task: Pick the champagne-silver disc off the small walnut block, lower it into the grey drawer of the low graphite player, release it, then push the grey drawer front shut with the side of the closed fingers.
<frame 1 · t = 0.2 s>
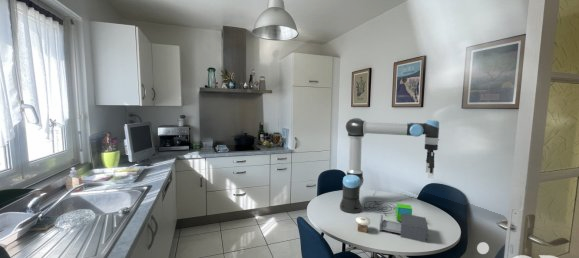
hand: (429, 175, 157), 28 cm above the table, fingers open, 13 cm apart
disc: (362, 222, 138), point 5 cm above the table, touching walnut block
walnut block: (362, 230, 139), on the table
grey drawer: (391, 225, 140), point 3 cm above the table, slide at 10.0 cm
green and teal box: (402, 218, 154), on the table
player: (412, 233, 135), on the table
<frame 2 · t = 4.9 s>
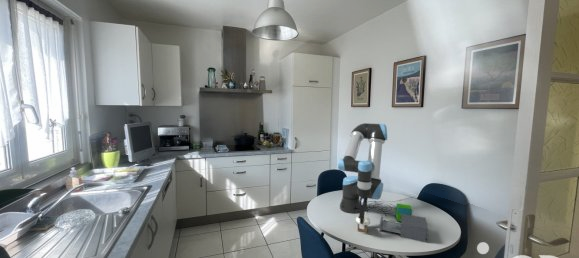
hand: (362, 225, 139), 3 cm above the table, fingers closed on disc, 8 cm apart
disc: (362, 222, 138), point 5 cm above the table, touching gripper, walnut block
everything else where it was.
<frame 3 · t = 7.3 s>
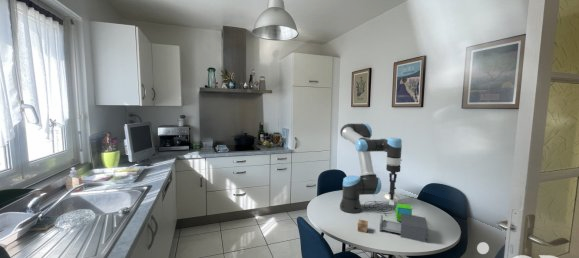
hand: (391, 202, 139), 17 cm above the table, fingers closed on disc, 8 cm apart
disc: (391, 198, 138), point 19 cm above the table, touching gripper
everything else where it was.
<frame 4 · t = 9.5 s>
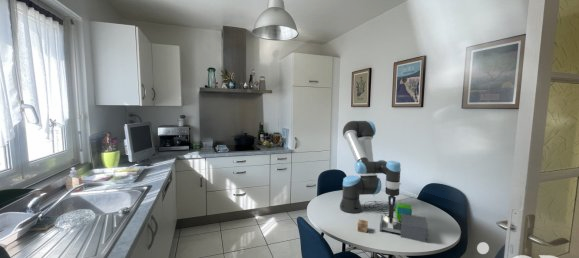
hand: (390, 224, 140), 3 cm above the table, fingers closed on disc, 8 cm apart
disc: (390, 221, 140), point 5 cm above the table, touching gripper
grey drawer: (391, 225, 140), point 3 cm above the table, slide at 10.0 cm, touching gripper
everything else where it was.
when the fingers open (3 cm above the table, at t = 9.8 s): disc drops 3 cm, resting on grey drawer.
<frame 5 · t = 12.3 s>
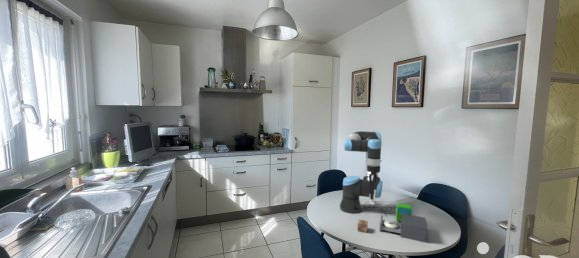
hand: (372, 201, 144), 15 cm above the table, fingers open, 6 cm apart
disc: (390, 225, 140), point 2 cm above the table, touching grey drawer
grey drawer: (391, 225, 140), point 3 cm above the table, slide at 10.0 cm, touching disc
everything else where it was.
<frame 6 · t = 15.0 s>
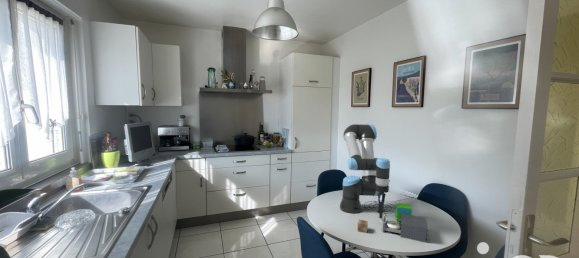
hand: (380, 222, 142), 3 cm above the table, fingers closed
disc: (393, 226, 139), point 2 cm above the table, touching grey drawer
grey drawer: (394, 225, 139), point 3 cm above the table, slide at 8.3 cm, touching disc, gripper
everything else where it was.
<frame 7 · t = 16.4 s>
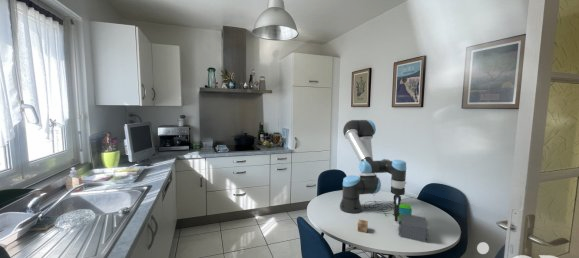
hand: (395, 225, 139), 3 cm above the table, fingers closed
disc: (409, 229, 136), point 2 cm above the table, touching grey drawer
grey drawer: (410, 228, 136), point 3 cm above the table, slide at -0.1 cm, touching disc, gripper
everything else where it was.
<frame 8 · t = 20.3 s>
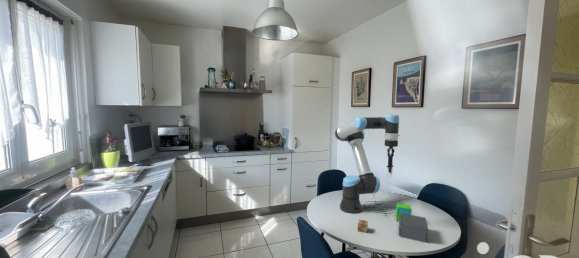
hand: (389, 177, 146), 29 cm above the table, fingers closed
grey drawer: (410, 228, 136), point 3 cm above the table, slide at 0.0 cm, touching disc
everything else where it was.
at the end: grey drawer slide at 0.0 cm; disc inside the target area on the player (1.8 cm from its centre), point 2.1 cm above the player's base; disc tilted 1° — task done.
